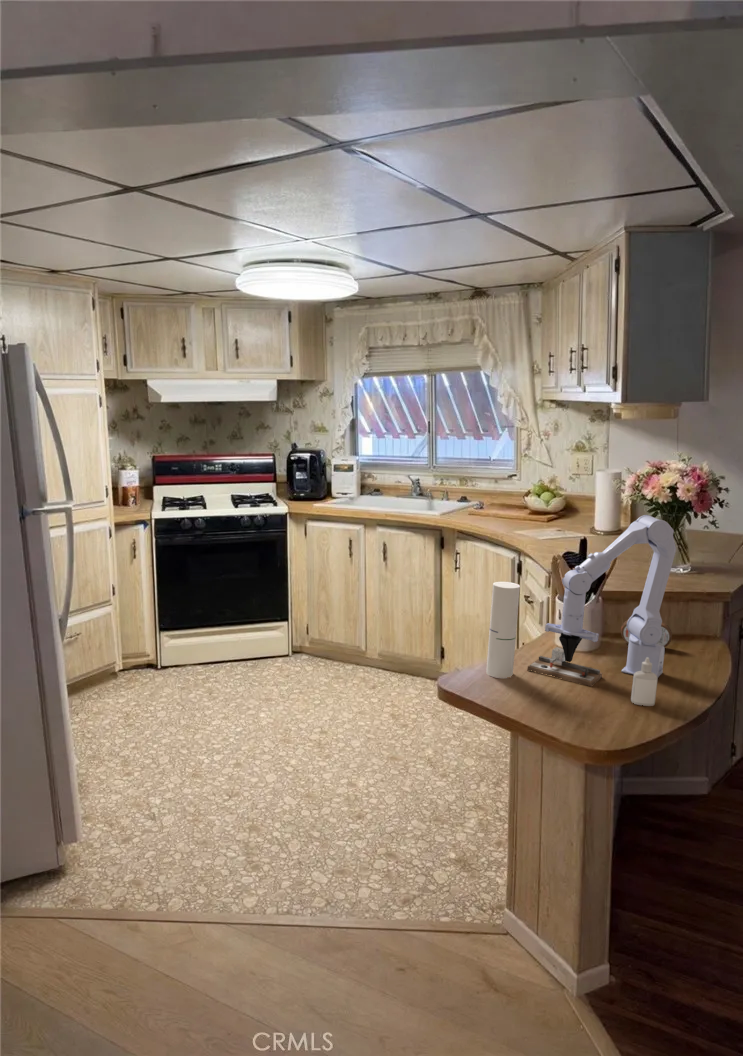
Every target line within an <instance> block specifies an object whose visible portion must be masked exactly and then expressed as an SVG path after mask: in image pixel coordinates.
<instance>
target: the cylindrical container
mask: <svg viewBox="0 0 743 1056" xmlns="http://www.w3.org/2000/svg"><path fill="white" fill-rule="evenodd" d="M520 590H521V586H520V584H518V583H515V582H511V581H496V582H495V581H494V582H493V583H492V591H491V592H492V593H491V606H490V618H489V619H490V620H489V632H488V633H489V634H488V643H487V659H486V670H485V671H486V675H488V676H490V677H492V678H495V679H508V678H507V677H510V676H512V675H514V663H515V649H516V637H517V627H518V616H519V615H518V613H519V603H520V602H519V600H520ZM512 677H513V676H512ZM510 678H511V677H510Z"/></svg>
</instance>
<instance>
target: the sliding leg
mask: <svg viewBox="0 0 743 1056" xmlns="http://www.w3.org/2000/svg"><path fill="white" fill-rule="evenodd" d="M551 658H552V659H551V660H550V668H552V667H553V664H555V665H559V666H562V663H563V661H564V662H567V661H565V655H564V650H563V647H557V646H556V647H554V648H552V650H551Z"/></svg>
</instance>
